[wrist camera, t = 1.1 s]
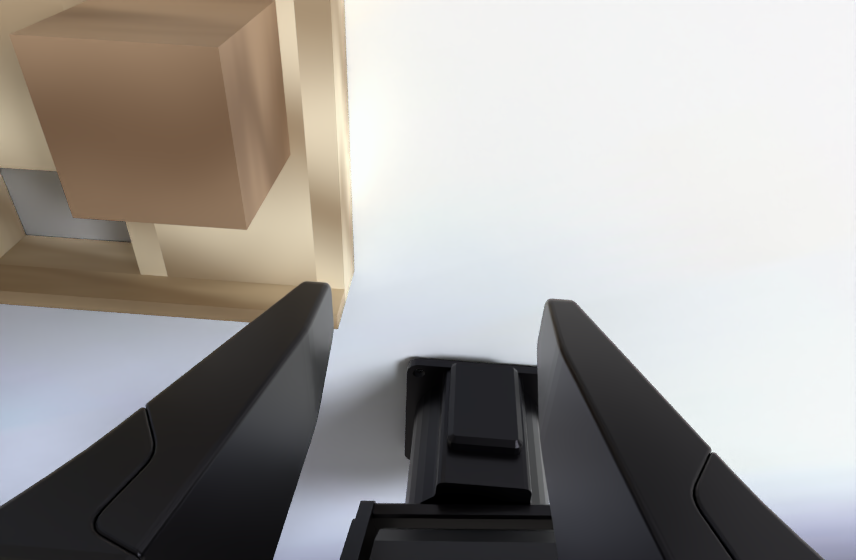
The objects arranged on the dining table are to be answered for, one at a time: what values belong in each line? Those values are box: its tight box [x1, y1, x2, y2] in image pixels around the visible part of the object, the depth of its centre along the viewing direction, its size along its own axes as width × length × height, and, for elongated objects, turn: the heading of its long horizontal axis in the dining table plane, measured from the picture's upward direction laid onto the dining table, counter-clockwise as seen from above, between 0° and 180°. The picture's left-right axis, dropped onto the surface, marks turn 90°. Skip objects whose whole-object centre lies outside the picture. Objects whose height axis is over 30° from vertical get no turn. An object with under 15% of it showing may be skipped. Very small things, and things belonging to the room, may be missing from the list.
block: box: [9, 0, 291, 230], centre depth 16 cm, size 4×4×4 cm
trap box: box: [0, 0, 354, 329], centre depth 17 cm, size 20×14×4 cm
